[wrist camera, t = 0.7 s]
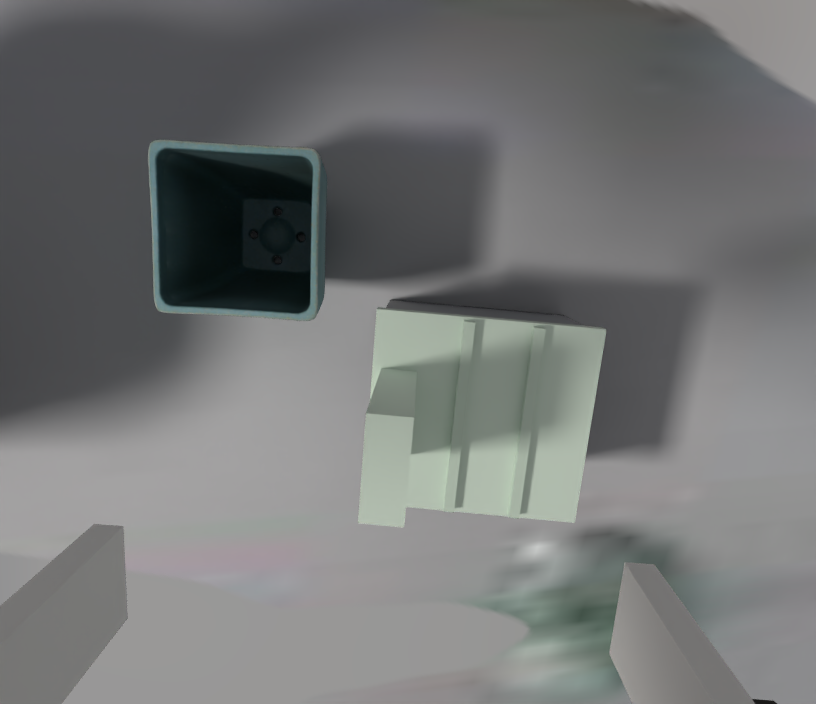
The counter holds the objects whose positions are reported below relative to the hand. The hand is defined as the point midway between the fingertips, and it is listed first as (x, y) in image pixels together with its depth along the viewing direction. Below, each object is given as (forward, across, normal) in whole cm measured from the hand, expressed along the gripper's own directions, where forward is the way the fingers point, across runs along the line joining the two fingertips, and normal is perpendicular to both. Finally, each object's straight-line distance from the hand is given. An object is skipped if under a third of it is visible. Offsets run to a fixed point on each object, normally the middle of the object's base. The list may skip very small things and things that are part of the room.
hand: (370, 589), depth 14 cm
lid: (+17, +5, -1) cm, 18 cm away
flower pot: (+25, -9, +9) cm, 28 cm away
